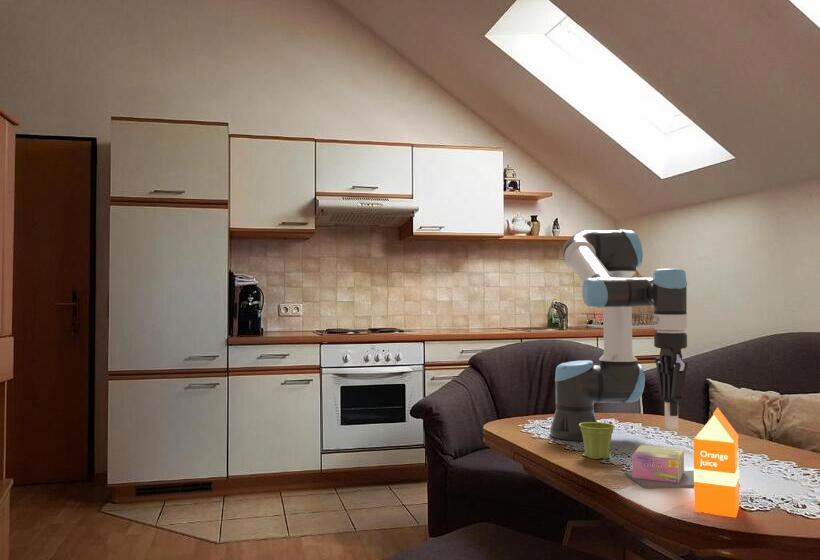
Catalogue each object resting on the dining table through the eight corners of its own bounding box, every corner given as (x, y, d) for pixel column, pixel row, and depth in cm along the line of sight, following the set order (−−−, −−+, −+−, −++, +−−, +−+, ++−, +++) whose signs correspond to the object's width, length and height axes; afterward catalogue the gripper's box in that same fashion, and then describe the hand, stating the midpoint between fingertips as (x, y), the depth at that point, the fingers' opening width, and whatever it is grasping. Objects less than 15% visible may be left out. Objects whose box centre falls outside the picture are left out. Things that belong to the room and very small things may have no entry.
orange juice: (693, 511, 133) (692, 412, 134) (699, 499, 141) (698, 405, 141) (737, 517, 129) (735, 415, 130) (740, 505, 137) (738, 408, 137)
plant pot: (586, 451, 186) (585, 420, 186) (619, 455, 181) (619, 423, 181) (574, 458, 178) (573, 425, 179) (608, 462, 173) (608, 429, 173)
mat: (625, 474, 162) (625, 471, 162) (713, 472, 163) (712, 470, 163) (645, 488, 150) (644, 485, 150) (739, 486, 151) (739, 483, 151)
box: (639, 467, 166) (631, 478, 155) (639, 444, 166) (631, 453, 156) (684, 472, 161) (679, 484, 151) (684, 449, 161) (679, 458, 151)
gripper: (644, 330, 168) (645, 423, 167) (666, 333, 155) (668, 434, 154) (673, 330, 168) (674, 423, 167) (698, 333, 155) (699, 434, 154)
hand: (671, 428), depth 161 cm, fingers closed
